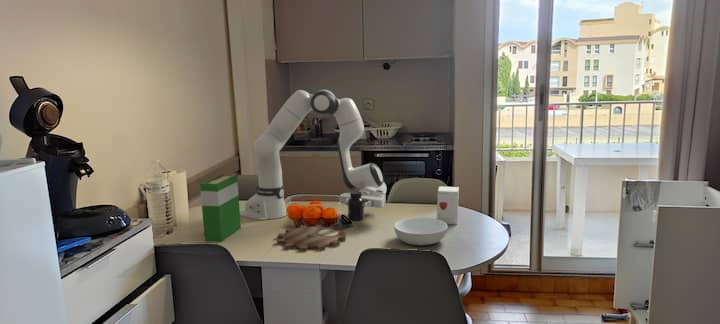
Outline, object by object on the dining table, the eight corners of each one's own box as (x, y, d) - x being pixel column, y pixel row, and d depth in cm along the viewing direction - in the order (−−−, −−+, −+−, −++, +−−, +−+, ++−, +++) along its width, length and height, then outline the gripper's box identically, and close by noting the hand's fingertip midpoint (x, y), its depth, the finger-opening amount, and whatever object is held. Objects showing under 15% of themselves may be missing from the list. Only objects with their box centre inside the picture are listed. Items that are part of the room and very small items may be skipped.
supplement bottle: (345, 220, 210) (344, 193, 208) (353, 216, 216) (352, 189, 214) (359, 222, 207) (359, 195, 205) (366, 218, 213) (366, 191, 210)
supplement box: (436, 223, 216) (436, 190, 213) (438, 217, 225) (438, 185, 222) (457, 224, 214) (458, 191, 211) (458, 218, 223) (459, 186, 220)
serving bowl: (412, 229, 209) (412, 214, 208) (456, 239, 196) (457, 223, 195) (383, 243, 194) (383, 226, 192) (429, 255, 181) (429, 237, 179)
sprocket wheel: (263, 246, 193) (263, 242, 192) (299, 225, 218) (299, 221, 217) (326, 255, 182) (326, 251, 181) (356, 232, 207) (356, 228, 206)
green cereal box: (225, 227, 217) (221, 174, 212) (240, 228, 215) (237, 174, 211) (204, 241, 200) (200, 183, 195) (221, 242, 198) (217, 184, 194)
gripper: (346, 187, 225) (333, 194, 213) (388, 192, 217) (377, 199, 205) (346, 200, 226) (333, 208, 214) (388, 205, 218) (377, 214, 206)
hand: (355, 204), depth 209 cm, fingers closed on supplement bottle, 7 cm apart
